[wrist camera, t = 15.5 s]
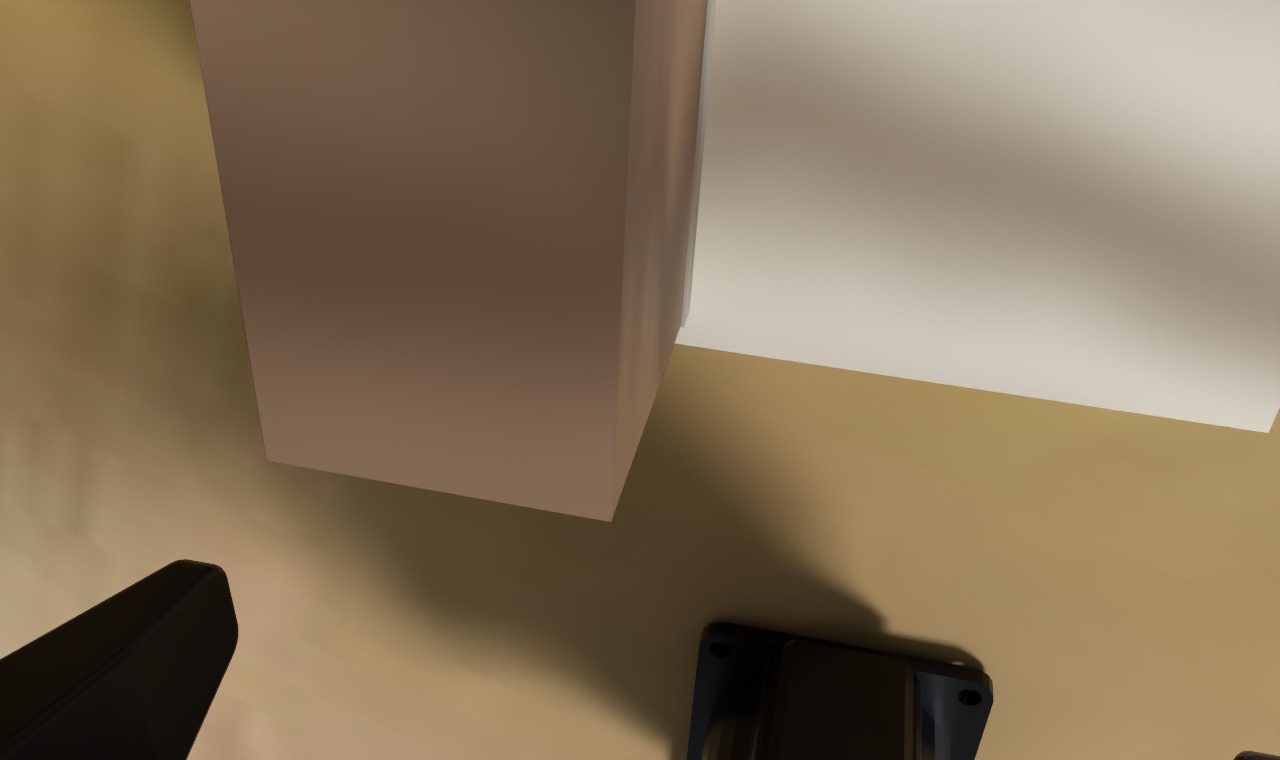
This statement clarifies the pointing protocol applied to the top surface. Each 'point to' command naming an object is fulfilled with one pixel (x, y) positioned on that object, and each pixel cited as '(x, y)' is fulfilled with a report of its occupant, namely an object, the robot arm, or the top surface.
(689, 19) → the block
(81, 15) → the top surface
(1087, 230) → the birch board
